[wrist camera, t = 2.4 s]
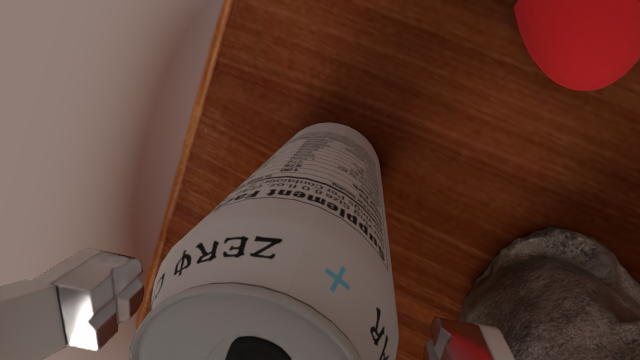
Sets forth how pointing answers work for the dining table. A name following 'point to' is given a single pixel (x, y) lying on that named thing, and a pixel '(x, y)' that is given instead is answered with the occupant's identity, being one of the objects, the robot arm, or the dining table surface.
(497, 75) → the dining table surface
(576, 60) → the toy figure
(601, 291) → the figurine
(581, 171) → the dining table surface
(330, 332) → the energy drink can
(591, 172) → the dining table surface
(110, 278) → the robot arm
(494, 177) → the dining table surface
